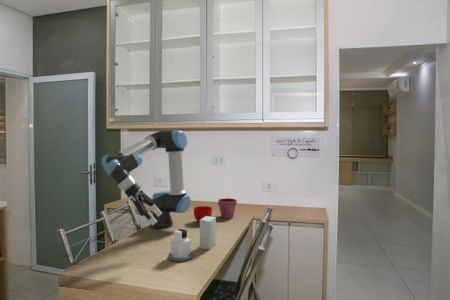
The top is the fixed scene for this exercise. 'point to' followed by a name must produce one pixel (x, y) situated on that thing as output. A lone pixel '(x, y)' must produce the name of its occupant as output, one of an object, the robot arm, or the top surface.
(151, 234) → the top surface
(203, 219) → the skincare box
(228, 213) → the plant pot
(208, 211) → the ceramic cup
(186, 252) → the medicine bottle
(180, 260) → the pad
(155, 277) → the top surface
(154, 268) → the top surface
